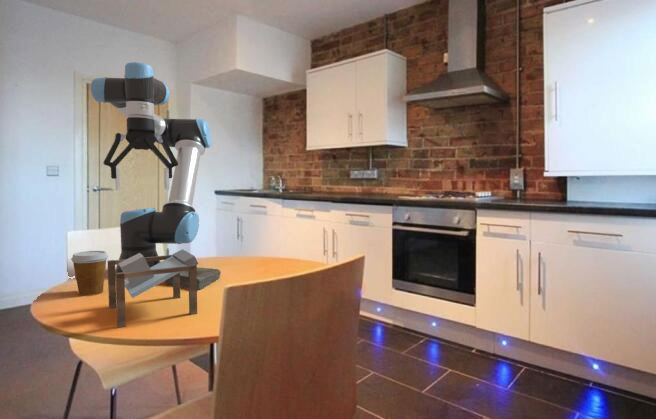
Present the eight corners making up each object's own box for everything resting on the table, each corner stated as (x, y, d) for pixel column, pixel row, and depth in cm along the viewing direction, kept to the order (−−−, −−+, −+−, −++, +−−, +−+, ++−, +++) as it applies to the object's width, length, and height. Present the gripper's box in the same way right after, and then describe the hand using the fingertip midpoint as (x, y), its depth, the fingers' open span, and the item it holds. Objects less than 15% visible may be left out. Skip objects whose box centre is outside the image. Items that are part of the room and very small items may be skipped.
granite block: (129, 283, 105) (118, 263, 103) (150, 272, 107) (139, 252, 106) (132, 288, 100) (121, 267, 98) (154, 276, 103) (143, 256, 101)
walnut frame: (109, 306, 108) (107, 260, 107) (178, 296, 118) (178, 253, 118) (118, 327, 93) (116, 274, 92) (197, 313, 104) (196, 265, 103)
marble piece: (199, 291, 125) (199, 278, 125) (157, 288, 128) (157, 275, 128) (224, 278, 141) (224, 266, 141) (186, 276, 144) (186, 264, 144)
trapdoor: (124, 286, 109) (120, 279, 108) (184, 255, 117) (181, 248, 116) (134, 301, 96) (129, 292, 96) (200, 264, 105) (196, 257, 104)
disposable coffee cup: (76, 290, 124) (74, 251, 123) (111, 287, 127) (109, 249, 127) (69, 298, 115) (67, 257, 114) (106, 295, 119) (105, 255, 118)
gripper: (93, 112, 109) (97, 191, 111) (187, 120, 123) (188, 189, 125) (90, 115, 115) (94, 189, 117) (180, 122, 129) (182, 188, 131)
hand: (143, 189), depth 121 cm, fingers open, 13 cm apart
